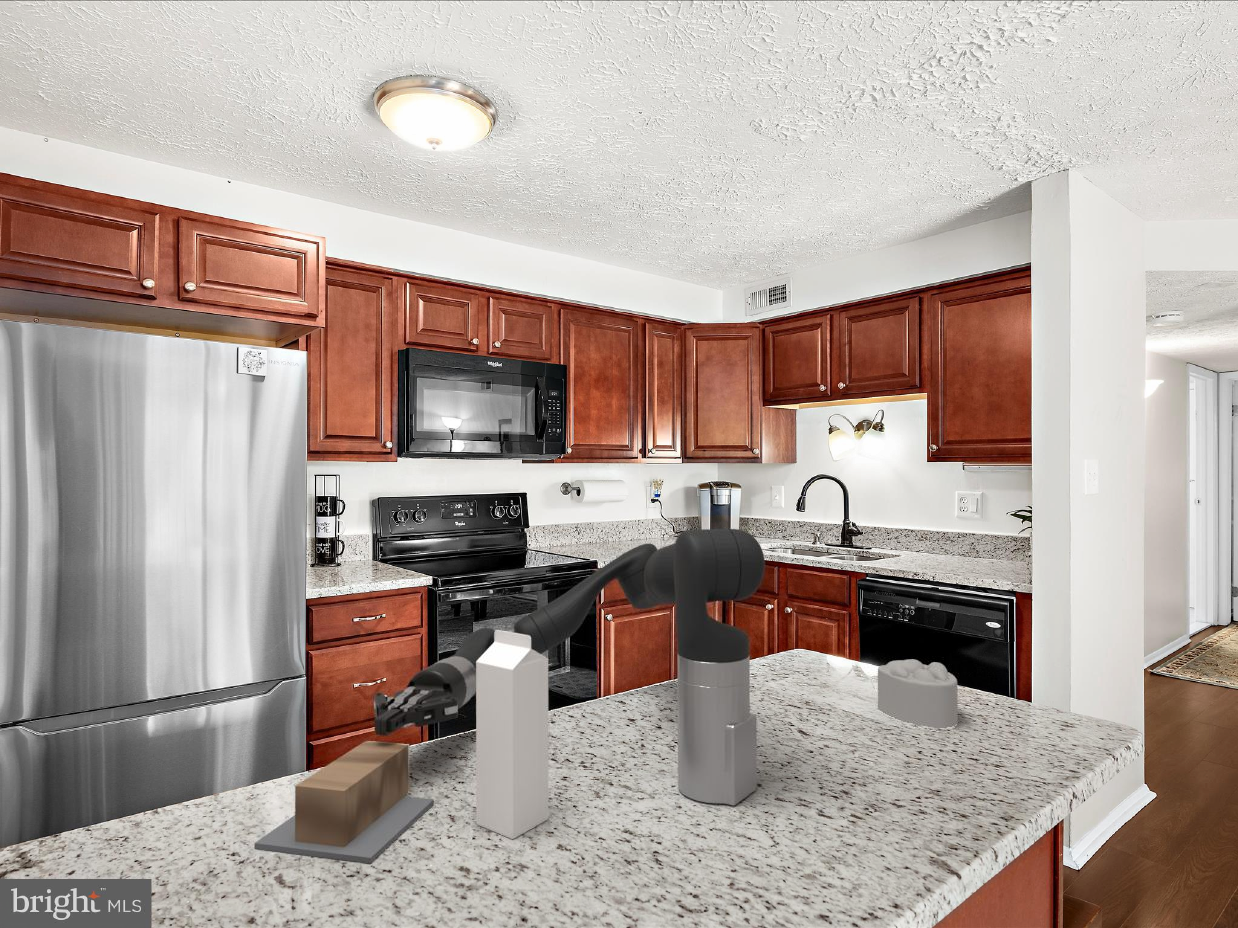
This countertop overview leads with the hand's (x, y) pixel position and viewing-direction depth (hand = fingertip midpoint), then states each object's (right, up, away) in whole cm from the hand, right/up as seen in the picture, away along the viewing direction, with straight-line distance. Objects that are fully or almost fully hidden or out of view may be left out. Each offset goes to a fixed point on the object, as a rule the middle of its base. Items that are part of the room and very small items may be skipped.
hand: (380, 727), depth 91 cm
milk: (+17, -9, -6) cm, 20 cm away
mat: (-1, -9, -6) cm, 11 cm away
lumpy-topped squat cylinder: (+80, -9, +30) cm, 86 cm away
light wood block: (0, -5, +2) cm, 6 cm away
